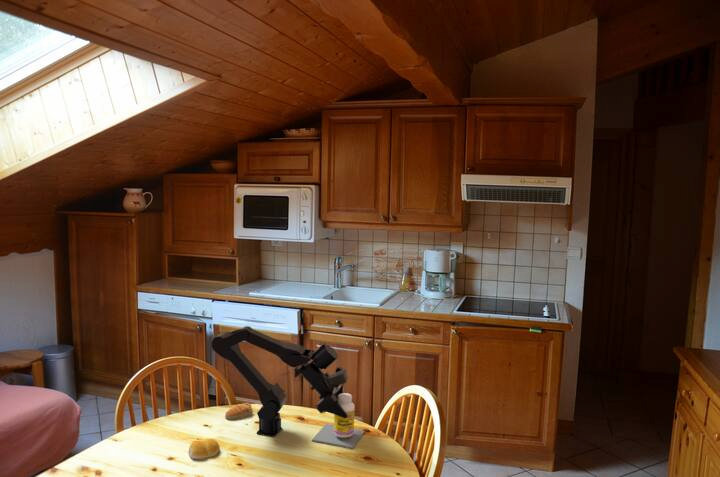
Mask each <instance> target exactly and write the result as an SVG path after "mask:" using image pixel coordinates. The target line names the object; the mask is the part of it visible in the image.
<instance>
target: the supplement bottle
mask: <svg viewBox="0 0 720 477" xmlns="http://www.w3.org/2000/svg"><path fill="white" fill-rule="evenodd" d="M338 397H339V404H340V405H341V407H342V408H343V410H344V411H345V412H346V414H347V416H348V417H347V418H343V417H340V416H337V415H335V414H333V425H334V434H335V435H336V436H338V437H342V438H346V437H350V436H352V435H353V433H354V429H355V410H356V409H355V407H356V406H355V404H354V403H353V402H352V400H353V395H352V394H350V393H348V392H347V393H346V392H344V393H342V394H339V395H338Z"/></svg>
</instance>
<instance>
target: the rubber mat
mask: <svg viewBox="0 0 720 477" xmlns="http://www.w3.org/2000/svg"><path fill="white" fill-rule="evenodd" d="M365 431H366V430H365V429H357V428H354V433H353V435H352V436H350V437H346V438H342V437H338V436H336V435H335V434H334V424H329V423H326V424H325V425H324V426H323V427H322V428H321V429H320V430H319V431H318V432H317V433H316V434H315V436H313V437H312V438H311V442H313V443H319V444H324V445H330V446H335V447H340V448H345V449H350V450H353V449H354V448H355V447H356V445H357V443H359V440H360V439H361V438H362V437H363V435H364V434H365Z"/></svg>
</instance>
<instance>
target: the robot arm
mask: <svg viewBox="0 0 720 477" xmlns="http://www.w3.org/2000/svg"><path fill="white" fill-rule="evenodd" d="M242 342H246V343H249V344H250V345H253V346H254V347H255V346H256V347H257V348H260V349H262V350H265V351H266V352H268V353H271V354H273V355H275V356H277V357H278V358H279V360H280V361H281V362H283V363H285V364H286V365H288V366H289V367H291V368H294V370H293V371H294V375H293V376H294V378H295V379H296V378H298V377H299V375H301V376H302V377H303V379H304V380H305V381H306V382H307V383H308V384H309V385H310V390H311V391H313V390H315V391H316V393H317V394H318V395H319V396H318V398H319V401H318V402H317V404H316V411H318V412H319V414H323V413H328V414H329V413H330V414H332V415H334V414H335V415H337V416H340V417H343V418H347V417H348V416H347V414H346V412H345V411H344V410H343V408H342V407H341V405H340V404H339V397H338V395H339V394H342V393H345V391H344V390H345V389H344V388H345V384H347V382H348V379H349V376H348V375H347V370H346V369H345V368H343V367H342V366H340V365H339V366H336V368H335V371H334V372H332V373H331V374H329V373H328V372H326V371H325V372H324V371H323V370H326V369H327V368H329V367H330V366H331V365H332V364H333V363H335V361H337V360H338V359H339V354H338V352H337V351H336V350H335V349H334V348H333V347H332V346H330V345H329V344H327V343H326V342H322V344H321V345H320V346H319V347H318V348H317V349H316V350H313V349H309V348H305V347H304V346H303V345H301V344H297V343H292V342H284V341H281V340H279V339H276V338H275V337H272V336H269V335H267V334H265V333H263V332H260V331H259V330H256V329H253V328H252V327H251V326H249V325H246V326H244V327H242V328H239V329H235V330H232V331H222V332H221V333H219V334H218V335H217V336H215V337H214V338H213V339H212V340H211V345H210V346H211V349H212V351H214V353H216V354H217V355H218V356H219V357H220V358H222V359H225V360H226V361H228V362H230V363H231V365H233V366H234V368H235V369H236V370H237V372H239V373H240V375H241V376H242V377H243V378H244V379H245V380H246V381H247V383H248V384H249V385H250V386H251V387H252V388H253V390H255V392H256V393H257V395H258V398H259V401H260V403H261V405H262V406H261V407H260V408H259V409H258V411H257V412H256V414H257V417H258V430H257V431H256V434H257V435H261V436H267V437H272V438H273V437H274V438H275V436H277V435H278V433H280V432H281V431H282V430H283V427H282V418H281V413H280V410H282V408H283V407H284V405H285V404H286V402H287V396H286V393H285V392H286V391H285V390H284V389H283V388H282V387H281V386H280V384H279V383H278V382H276V383H275V384H271V383H270V382H269V381H268V380H267V379H266V378H265V377H264V376H263V374H261V373H260V371H259V370H258V369H257V368H256V367H255V365H254V364H253V363H252V362H251V361H250V360H249V359H248V358H247V356H246V355H245V354H244V353H243V352H242V350H241V348H240V343H242Z"/></svg>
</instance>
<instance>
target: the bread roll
mask: <svg viewBox="0 0 720 477" xmlns="http://www.w3.org/2000/svg"><path fill="white" fill-rule="evenodd" d="M219 450H220V445H219V442H218V441H217V440H215V439H214V438H206V439H202V440H201V441H200V440H199V441H198V440H197V441H193V442H192V443H191V444H190V445H189V446H188V451H187V452H188V453H187V454H188V455H189V457H190V458H191V459H193V460H203V459H207V458H212V457H214V456H216V455H217V454H218V452H219Z"/></svg>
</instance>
